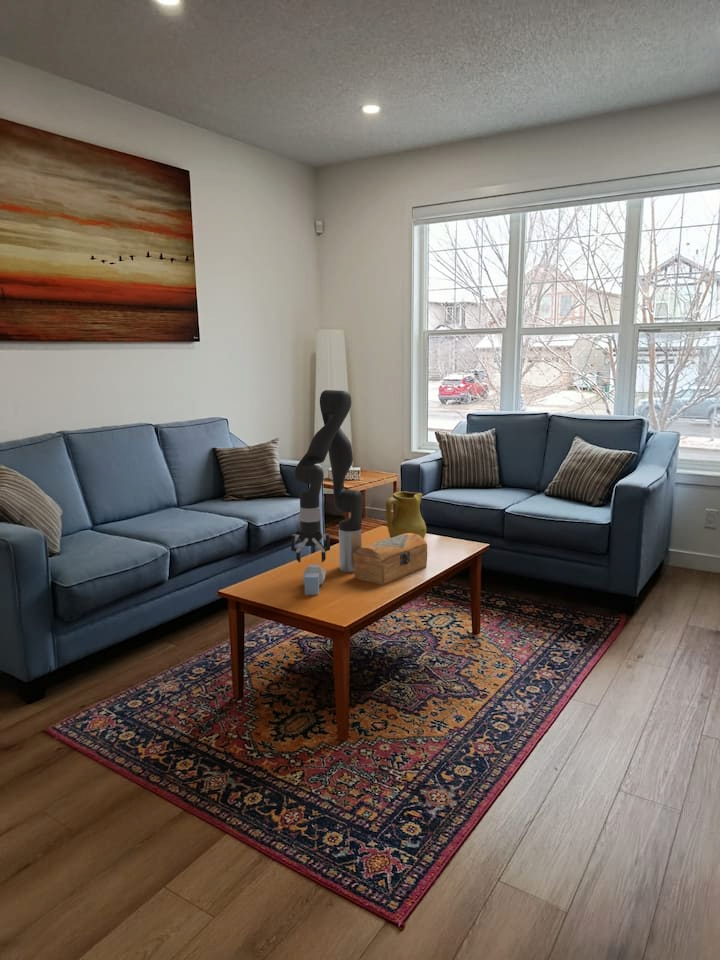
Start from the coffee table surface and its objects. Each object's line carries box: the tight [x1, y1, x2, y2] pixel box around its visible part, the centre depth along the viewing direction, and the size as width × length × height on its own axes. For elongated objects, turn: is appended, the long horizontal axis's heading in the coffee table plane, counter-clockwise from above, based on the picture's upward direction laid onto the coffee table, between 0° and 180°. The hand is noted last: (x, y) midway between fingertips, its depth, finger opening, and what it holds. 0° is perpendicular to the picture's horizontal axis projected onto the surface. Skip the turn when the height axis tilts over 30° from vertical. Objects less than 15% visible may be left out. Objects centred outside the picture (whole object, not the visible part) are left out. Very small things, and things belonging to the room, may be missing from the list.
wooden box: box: [353, 533, 428, 586], centre depth 271 cm, size 30×16×14 cm, turn 139°
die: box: [301, 562, 327, 586], centre depth 257 cm, size 8×9×10 cm
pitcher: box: [385, 490, 427, 540], centre depth 308 cm, size 17×19×25 cm
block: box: [303, 573, 320, 596], centre depth 249 cm, size 5×5×7 cm
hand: (311, 561), depth 248 cm, fingers open, 8 cm apart
